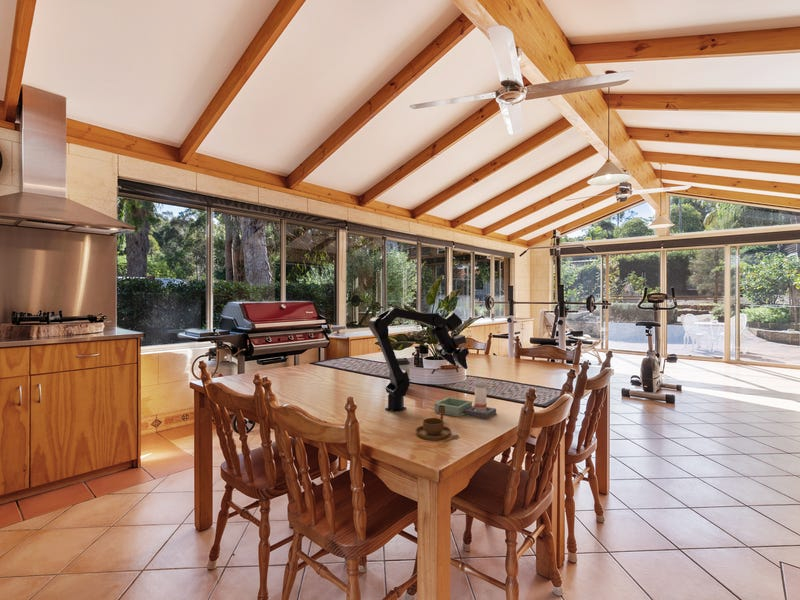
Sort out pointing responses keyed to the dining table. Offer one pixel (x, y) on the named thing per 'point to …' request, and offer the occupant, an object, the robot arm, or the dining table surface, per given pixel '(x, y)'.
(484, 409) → the fuse
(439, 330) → the robot arm
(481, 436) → the dining table surface
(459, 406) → the parts tray
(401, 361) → the coffee cup
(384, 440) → the dining table surface
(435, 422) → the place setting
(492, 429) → the dining table surface
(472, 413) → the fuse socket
